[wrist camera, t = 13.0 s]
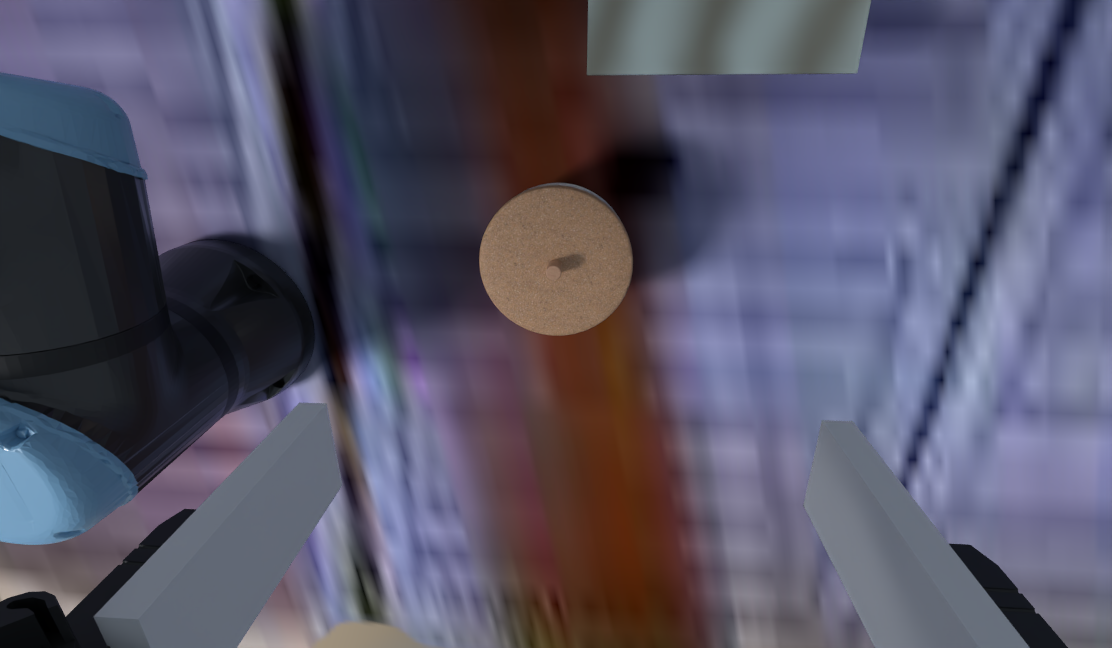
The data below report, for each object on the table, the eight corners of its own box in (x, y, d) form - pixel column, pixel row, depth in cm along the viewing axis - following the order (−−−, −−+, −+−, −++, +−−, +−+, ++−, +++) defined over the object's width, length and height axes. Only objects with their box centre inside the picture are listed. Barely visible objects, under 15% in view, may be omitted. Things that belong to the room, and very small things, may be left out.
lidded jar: (509, 157, 43) (487, 173, 34) (642, 188, 43) (654, 212, 34) (487, 284, 47) (462, 327, 38) (609, 311, 47) (611, 360, 38)
